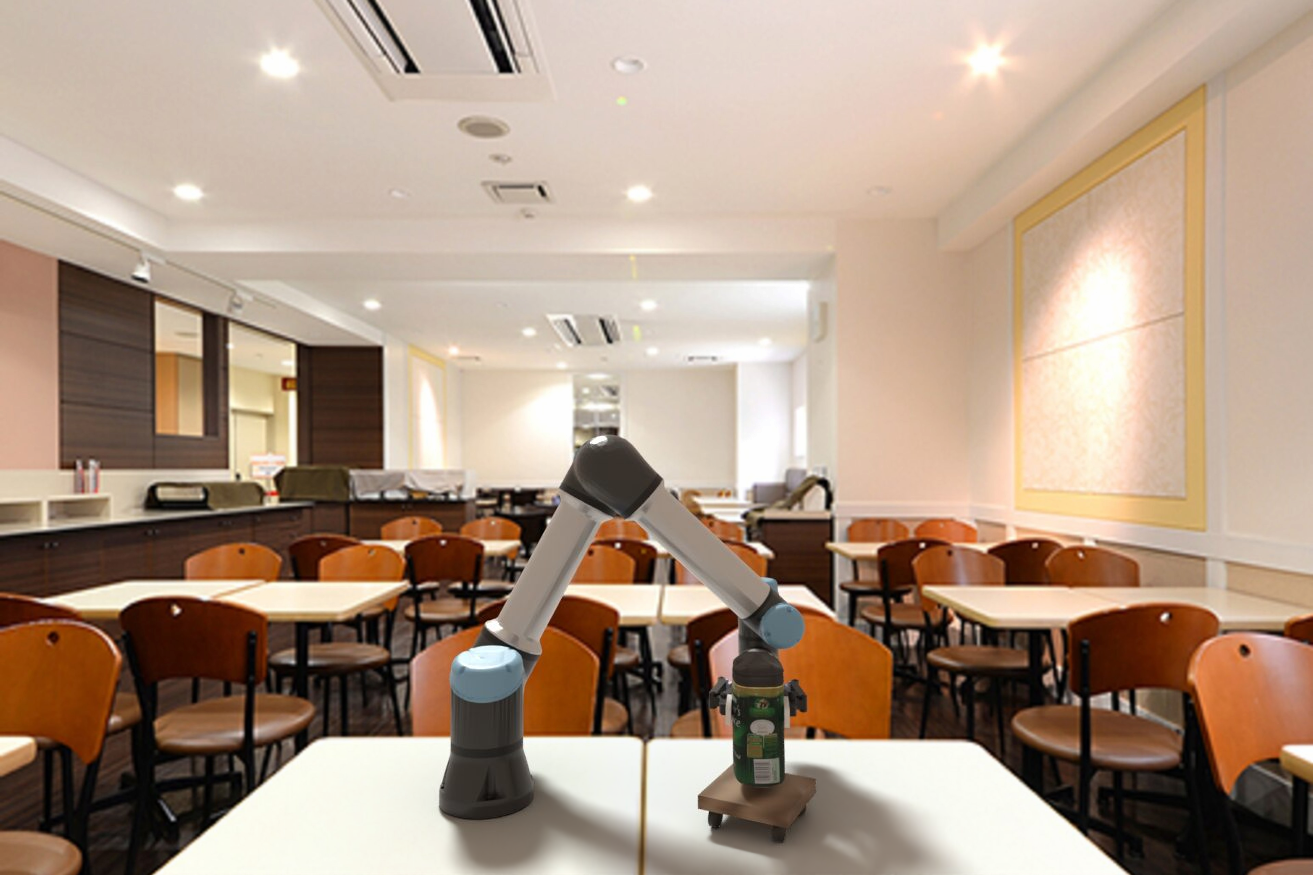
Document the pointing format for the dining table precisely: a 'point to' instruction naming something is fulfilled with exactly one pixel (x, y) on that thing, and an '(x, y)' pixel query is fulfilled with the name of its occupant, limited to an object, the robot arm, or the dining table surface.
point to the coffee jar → (758, 719)
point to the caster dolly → (757, 801)
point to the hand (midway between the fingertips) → (757, 717)
